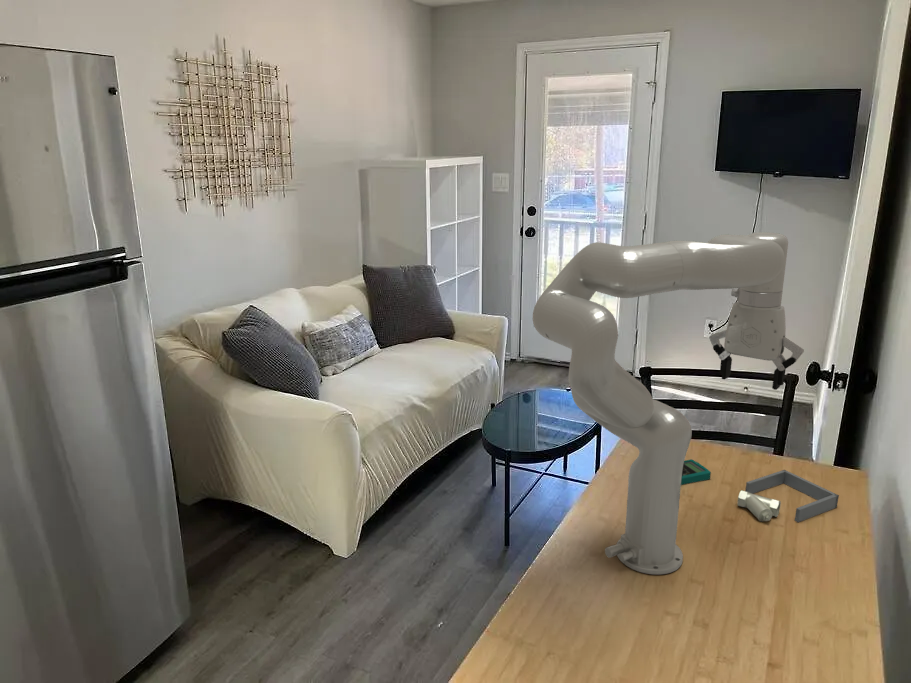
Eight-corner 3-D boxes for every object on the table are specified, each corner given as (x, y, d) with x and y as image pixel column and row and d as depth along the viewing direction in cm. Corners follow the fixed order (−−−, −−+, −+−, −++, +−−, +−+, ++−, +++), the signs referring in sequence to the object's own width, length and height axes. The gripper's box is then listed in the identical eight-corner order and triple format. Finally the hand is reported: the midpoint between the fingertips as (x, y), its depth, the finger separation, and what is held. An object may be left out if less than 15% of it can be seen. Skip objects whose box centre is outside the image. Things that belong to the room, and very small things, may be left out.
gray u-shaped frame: (797, 522, 140) (799, 509, 139) (744, 493, 152) (746, 482, 151) (836, 507, 145) (838, 495, 144) (782, 481, 157) (784, 469, 156)
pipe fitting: (771, 528, 139) (779, 512, 144) (773, 513, 138) (781, 497, 143) (732, 516, 144) (741, 501, 149) (733, 501, 142) (742, 486, 147)
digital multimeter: (640, 478, 160) (641, 467, 160) (691, 467, 165) (692, 457, 164) (659, 492, 154) (660, 481, 153) (711, 481, 158) (712, 470, 158)
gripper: (707, 296, 128) (700, 378, 133) (803, 308, 118) (792, 397, 123) (720, 289, 134) (713, 368, 139) (814, 300, 123) (803, 386, 128)
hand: (750, 382), depth 131 cm, fingers open, 9 cm apart
